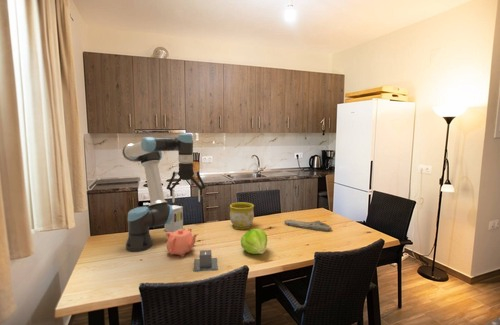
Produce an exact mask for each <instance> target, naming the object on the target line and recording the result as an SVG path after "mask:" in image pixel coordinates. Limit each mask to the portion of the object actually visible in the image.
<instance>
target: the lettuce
mask: <svg viewBox="0 0 500 325" xmlns="http://www.w3.org/2000/svg"><path fill="white" fill-rule="evenodd" d="M240 244H241V245H240V246H241V248H242V249H243V250H244V251H245V252H247V253H249V254H251V255H257V254H261V255H262V254H264V253H265V251H266V249H267V245H268V235H267V233H266V232H265V231H264V230H263V229H261V228H251V229H250V230H248V231H246V232H245V233H244V234H243V235H242V236H241V239H240Z"/></svg>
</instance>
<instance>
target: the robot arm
mask: <svg viewBox="0 0 500 325" xmlns="http://www.w3.org/2000/svg"><path fill="white" fill-rule="evenodd" d="M193 136H194V135H193V133H178V136H161V137H159V136H144V137H143V138H142V139H141V141H139V142H135V143H129V144H127V145H124V147H123V148H122V150H121V152H122V155H123V157H124V158H125V160H127V161H129V162H134V163H136V162H139V163H140V165H141V166H142V167H143V168H144V173H145V180H146V184H147V190H148V195H149V201H150V203H149V205H148V206H137V207H135V208H132V209H129V211H128V212H127V228H128V231H127V233H128V236H127V240H126V242H125V250H126V251H128V252H142V251H145V250H146V251H147V250H148V249H151V248H152V247H153V244H154V243H153V241H154V240H153V239H152V236H151V234H150V228H154V227H158V226H165V224H167V223H169V222H171V220H172V218H173V209H172V206H173V205H171V204H169V203H168V200H165V196H164V195H165V194H164V191H163V190H164V189H163V186H162V179H161V175H160V169H159V163H160V162H161V161H160V160H162V158H163V157H162V155H163V153H162V152H174V151H175V152H177V151H178V171H175V170H174V171H173V172H172V175H171V178H170V180H169V181H168V184H167V186H166V190H168V191H170V192H169V194H170V195H169V196H170V197H172V198H171V199H172V203H173V204H174V203H175V199H176V198H175V197H176V196H175V187H176V186H177V185H178V184H179V182H180V181H181V180H182V181H190V180H191V181H192V182H193V183H194V184H195V186H196V187H197V188H198V191H197V192H198V203H200V202H201V196H203V190H204V189H206V185H205V183H204V180H203V179H202V177H201V175H200V171H199V170H198V171H194V163H193V162H194V145H193V144H194V139H193ZM177 175H178V177H179V178H178V179H177V180H176V181H175V182H174V184H173V185H172V183H173V181H174V179H175V177H177ZM194 175H195V176H197V179H198V181H199V182H200V183H199V182H198V181H197V180H196V179H195V178H194Z"/></svg>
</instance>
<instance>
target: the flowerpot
mask: <svg viewBox="0 0 500 325" xmlns="http://www.w3.org/2000/svg"><path fill="white" fill-rule="evenodd" d="M254 207H255V204H253V203H252V202H251V203H250V202H247V201H246V202H244V201H243V202H241V201H239V202H233V203H231V204H229V219H230V223H232V225H231V226H232V227H233V228H234V229H236V230H240V231H241V230H248V229H250V228H251V226H252V223H253V222H254V219H255V212H254Z"/></svg>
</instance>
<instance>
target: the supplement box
mask: <svg viewBox="0 0 500 325" xmlns="http://www.w3.org/2000/svg"><path fill="white" fill-rule="evenodd" d="M171 206H172V209H173V218H172V220H171V222H169V223H167V224H164V231H165V232H172V233H173V232H175V231H177V230H179V229H183V230H184V215H183V214H184V211H183V209H184V206H182V205H181V206H179V205H174V204H173V205H171Z"/></svg>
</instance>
